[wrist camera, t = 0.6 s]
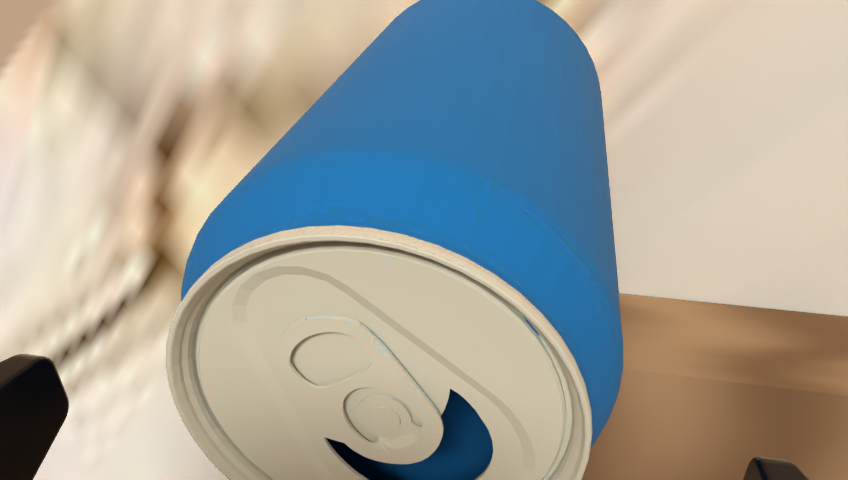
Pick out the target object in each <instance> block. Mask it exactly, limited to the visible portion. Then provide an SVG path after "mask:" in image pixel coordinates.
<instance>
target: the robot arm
mask: <svg viewBox="0 0 848 480" xmlns="http://www.w3.org/2000/svg"><path fill="white" fill-rule="evenodd" d="M68 409H69V400H68V397H67V394H66V392H65V389H64V387H63V384H62V382H61V379H60V377H59V374H58V372H57V369H56V367H55V365H54V363H53V361H51V360H50V359H49V358H47V357H43V356H36V355H29V354H19V355H15V356H13V357H10V358H8V359H6V360H4V361H2V362H0V480H33V478H34V476H35V475H36V473H37V471H38V469H39V467H40V465H41V463H42V462H43V460H44V458H45V456H46V454H47V452H48V450H49V449H50V447H51V445H52V443H53V441H54V439H55V437H56V436H57V434H58V432H59V430H60V428H61V426H62V424H63V423H64V421H65V419H66V416H67V413H68ZM743 480H810V479H809V478H808V477H807V476H806V475H805V474H804V472H803V471H802V470H801V469H800V468H799V467H798V466H797V465H796V464H794V463H793V462H791V461H789V460H784V459H777V458H770V457H763V456H756V457H754V458H752V459H751V461H750V462H749V464H748V467H747V470H746V472H745V475H744V478H743Z"/></svg>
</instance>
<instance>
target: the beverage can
mask: <svg viewBox="0 0 848 480" xmlns="http://www.w3.org/2000/svg"><path fill="white" fill-rule="evenodd" d="M166 367H167V374H168V381H169V386H170V389H171V392H172V396H173V399H174V402H175V405H176V407H177V409H178V411H179V414H180V416H181V418H182V420H183V422H184V424H185V426H186V427H187V429H188V431H189V432H190V434H191V435H192V437H193V439H194V440H195V442H196V443H197V444H198V446H199V447H200V448H201V450H202V451H203V452H204V453H205V455H206V456H207V457H208V458H209V460H210V461H211V462H212V463H213V464H214V465H215V466H216V467H217V468H218V469H219V470H220V471H221V472H222V473H223V474H224V475H225V476H226V477H227V478H228V479H229V480H582V477H583V474H584V471H585V469H586V466H587V463H588V460H589V453H590V448H591V447H592V446H593V445H594V444H595V442H596V440H597V439H598V437H599V435H600V434H601V432H602V430H603V428H604V427H605V425H606V423H607V421H608V420H609V418H610V416H611V413H612V410H613V407H614V405H615V402H616V399H617V396H618V393H619V390H620V384H621V378H622V372H623V335H622V324H621V312H620V301H619V290H618V279H617V267H616V256H615V245H614V234H613V222H612V211H611V200H610V189H609V178H608V166H607V155H606V144H605V133H604V121H603V110H602V99H601V91H600V85H599V79H598V76H597V72H596V69H595V66H594V63H593V61H592V59H591V57H590V55H589V53H588V51H587V49H586V47H585V45H584V44H583V42H582V41H581V39H580V38H579V37H578V35H577V34H576V33H575V31H574V30H573V29H572V28H571V27H570V26H569V25H568V24H567V23H566V21H564V20H563V19H562V18H561V17H560V16H558V15H557V14H556V13H555V12H554V11H553V10H551V9H549V8H548V7H546V6H545V5H543V4H542V3H540V2H538V1H536V0H420V1H418V2H417V3H415V4H414V5H412V6H410V7H409V8H407V9H406V10H405V11H404V12H402V13H401V14H400V15H399V16H397V17H396V18H395V19H394V20H393V21H392V22H391V23H390V24H389V25H388V27H387V28H386V29H385V30H384V31H383V32H382V33H381V34H380V35H379V36H378V37H377V38H376V39H375V40H374V41H373V42H372V43H371V44H370V45H369V47H368V48H367V49H366V50H365V51H364V52H363V53H362V54H361V55H360V56H359V57H358V58H357V59H356V60H355V61H354V62H353V63H352V64H351V66H350V67H349V68H348V69H347V70H346V71H345V72H344V73H343V74H342V75H341V76H340V77H339V78H338V79H337V80H336V81H335V82H334V83H333V85H332V86H331V87H330V88H329V89H328V90H327V91H326V92H325V93H324V94H323V95H322V96H321V97H320V98H319V99H318V100H317V101H316V102H315V103H314V105H313V106H312V107H311V108H310V109H309V110H308V111H307V112H306V113H305V114H304V115H303V116H302V117H301V118H300V119H299V120H298V121H297V122H296V124H295V125H294V126H293V127H292V128H291V129H290V130H289V131H288V132H287V133H286V134H285V135H284V136H283V137H282V138H281V139H280V140H279V141H278V142H277V144H276V145H275V146H274V147H273V148H272V149H271V150H270V151H269V152H268V153H267V154H266V155H265V156H264V157H263V158H262V159H261V160H260V161H259V163H258V164H257V165H256V166H255V167H254V168H253V169H252V170H251V171H250V172H249V173H248V174H247V175H246V176H245V177H244V178H243V179H242V180H241V181H240V183H239V184H238V185H237V186H236V187H235V188H234V189H233V190H232V191H231V192H230V193H229V194H228V195H227V196H226V197H225V198H224V200H223V201H222V202H221V203H220V204H219V205H218V206H217V207H216V208H215V209H214V211H213V212H212V213H211V214H210V215H209V217H208V219H207V220H206V222H205V223H204V225H203V227H202V228H201V230H200V231H199V233H198V235H197V237H196V240H195V242H194V245H193V247H192V250H191V252H190V255H189V257H188V260H187V264H186V269H185V273H184V278H183V283H182V290H181V303H180V305H179V306H178V308H177V311H176V313H175V316H174V318H173V320H172V323H171V325H170V330H169V335H168V340H167V345H166Z"/></svg>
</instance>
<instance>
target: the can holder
mask: <svg viewBox="0 0 848 480" xmlns="http://www.w3.org/2000/svg"><path fill="white" fill-rule="evenodd" d="M619 301H620V312H621V324H622V335H623V372H622V378H621V384H620V390H619V393H618V396H617V399H616V402H615V405H614V407H613V410H612V413H611V416H610V418H609V420H608V421H607V423H606V425H605V427H604V428H603V430H602V432H601V434H600V435H599V437H598V439H597V440H596V442H595V444H594V445H593V446H592V447H591V448H590V453H589V460H588V463H587V466H586V469H585V471H584V474H583V477H582V480H743V478H744V475H745V472H746V470H747V467H748V464H749V462H750V461H751V459H752V458H754V457H756V456H763V457H770V458H777V459H784V460H789V461H791V462H793V463H794V464H796V465H797V466H798V467H799V468H800V469H801V470H802V471H803V472H804V474H805V475H806V476H807V477H808V478H809V479H810V480H848V317H845V316H835V315H825V314H815V313H805V312H795V311H785V310H776V309H766V308H756V307H746V306H736V305H726V304H716V303H707V302H697V301H687V300H677V299H667V298H657V297H647V296H638V295H628V294H619Z"/></svg>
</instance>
